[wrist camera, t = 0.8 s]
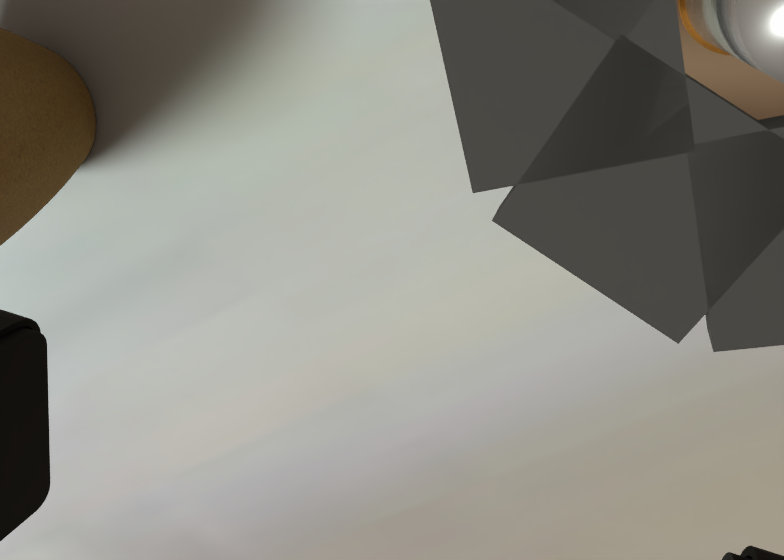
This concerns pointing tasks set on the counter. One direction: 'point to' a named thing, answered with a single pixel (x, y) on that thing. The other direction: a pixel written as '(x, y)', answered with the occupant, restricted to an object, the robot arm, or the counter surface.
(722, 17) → the steel pipe
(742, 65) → the base board
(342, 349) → the counter surface
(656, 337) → the counter surface
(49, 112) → the plant pot
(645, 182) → the grey petal ring
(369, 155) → the counter surface
